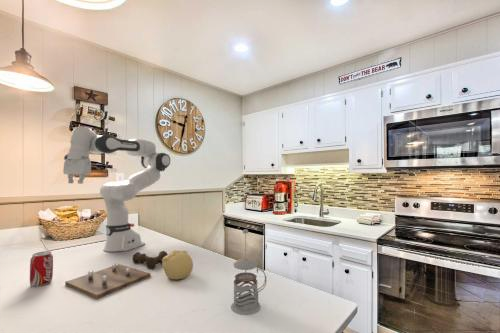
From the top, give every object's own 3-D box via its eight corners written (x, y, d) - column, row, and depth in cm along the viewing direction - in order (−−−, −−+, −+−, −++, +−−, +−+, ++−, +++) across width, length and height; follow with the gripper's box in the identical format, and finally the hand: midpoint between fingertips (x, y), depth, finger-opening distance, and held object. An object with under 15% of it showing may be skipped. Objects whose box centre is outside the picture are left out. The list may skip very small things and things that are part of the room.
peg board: (119, 267, 117) (119, 257, 117) (150, 276, 106) (150, 266, 106) (65, 285, 98) (65, 273, 98) (96, 299, 87) (96, 286, 87)
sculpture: (181, 269, 114) (181, 245, 115) (198, 276, 107) (198, 250, 107) (158, 277, 105) (158, 251, 106) (174, 285, 98) (174, 257, 98)
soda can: (39, 288, 95) (40, 256, 96) (24, 287, 97) (25, 255, 97) (57, 281, 102) (57, 251, 103) (43, 279, 104) (43, 250, 104)
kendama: (143, 260, 129) (175, 264, 121) (127, 267, 120) (160, 271, 112) (143, 248, 129) (174, 251, 121) (127, 254, 120) (160, 258, 112)
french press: (230, 299, 86) (230, 226, 87) (264, 298, 87) (263, 225, 88) (230, 315, 76) (230, 233, 77) (268, 313, 77) (268, 232, 78)
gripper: (96, 157, 128) (92, 184, 126) (75, 158, 138) (72, 183, 137) (82, 155, 123) (79, 183, 121) (62, 156, 133) (58, 182, 131)
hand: (75, 183), depth 129 cm, fingers open, 8 cm apart
